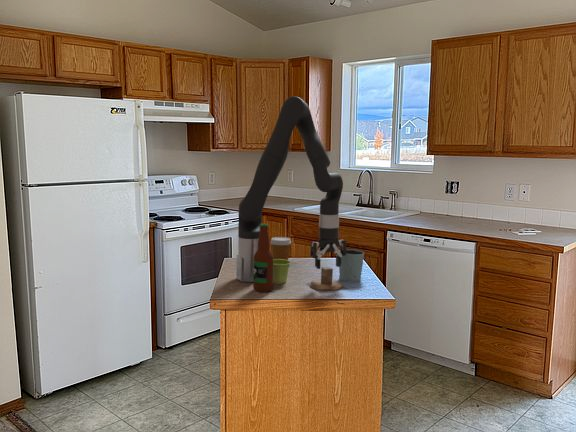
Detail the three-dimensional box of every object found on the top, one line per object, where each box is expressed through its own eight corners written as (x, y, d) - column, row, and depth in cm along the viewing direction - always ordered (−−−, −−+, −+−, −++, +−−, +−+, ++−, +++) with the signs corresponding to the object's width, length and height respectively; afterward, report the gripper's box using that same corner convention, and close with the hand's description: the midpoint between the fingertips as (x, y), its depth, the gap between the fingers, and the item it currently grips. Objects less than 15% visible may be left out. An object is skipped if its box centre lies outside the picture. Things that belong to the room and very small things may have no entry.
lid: (319, 292, 192) (319, 273, 191) (305, 283, 203) (306, 265, 202) (347, 289, 197) (348, 270, 196) (333, 281, 208) (333, 263, 207)
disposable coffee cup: (283, 268, 229) (283, 241, 227) (265, 265, 234) (266, 239, 232) (294, 264, 237) (295, 238, 235) (277, 261, 242) (278, 236, 240)
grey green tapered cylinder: (335, 277, 216) (336, 248, 215) (359, 277, 217) (361, 248, 216) (340, 283, 206) (341, 254, 205) (365, 283, 207) (367, 254, 206)
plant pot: (293, 281, 208) (294, 260, 207) (285, 287, 200) (286, 265, 198) (271, 279, 211) (272, 258, 210) (262, 284, 203) (263, 263, 201)
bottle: (251, 287, 198) (252, 222, 194) (269, 286, 200) (270, 222, 197) (256, 293, 191) (257, 225, 187) (275, 292, 193) (276, 225, 190)
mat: (319, 293, 192) (319, 292, 192) (305, 285, 203) (305, 283, 203) (347, 290, 197) (347, 289, 197) (333, 282, 208) (333, 281, 208)
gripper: (316, 228, 191) (316, 271, 193) (350, 226, 197) (349, 268, 199) (307, 225, 198) (307, 267, 200) (340, 223, 204) (339, 263, 206)
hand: (328, 267), depth 200 cm, fingers open, 8 cm apart
